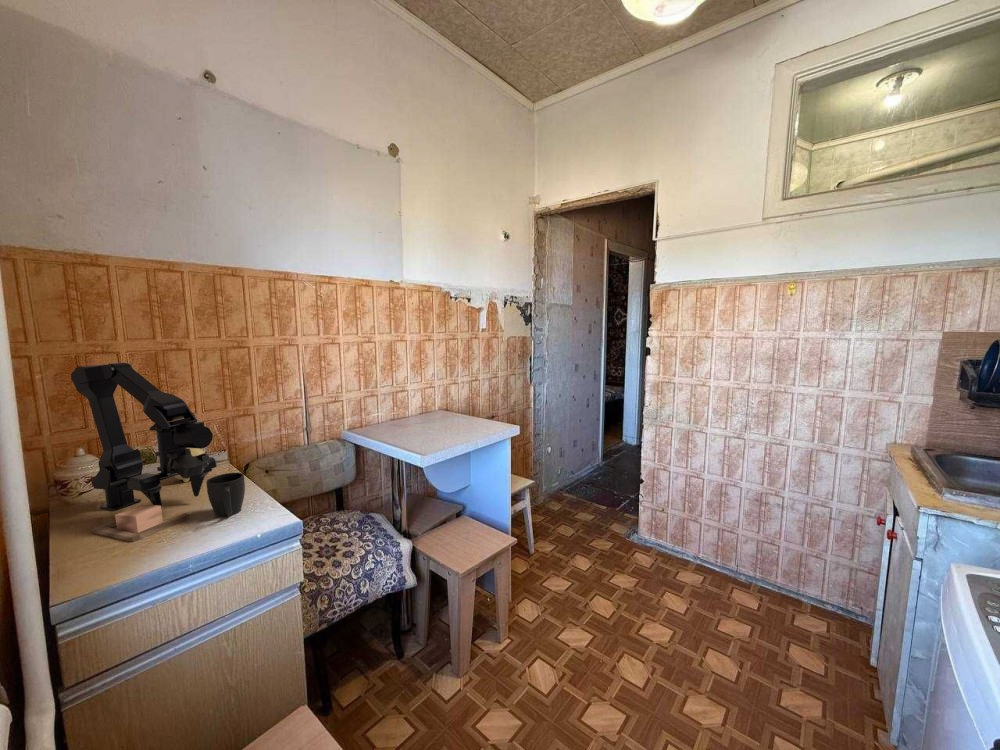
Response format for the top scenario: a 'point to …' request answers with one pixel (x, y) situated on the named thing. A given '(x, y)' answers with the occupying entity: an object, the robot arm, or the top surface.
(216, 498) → the mug
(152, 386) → the robot arm
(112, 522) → the walnut bay
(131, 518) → the terracotta block
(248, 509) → the top surface
